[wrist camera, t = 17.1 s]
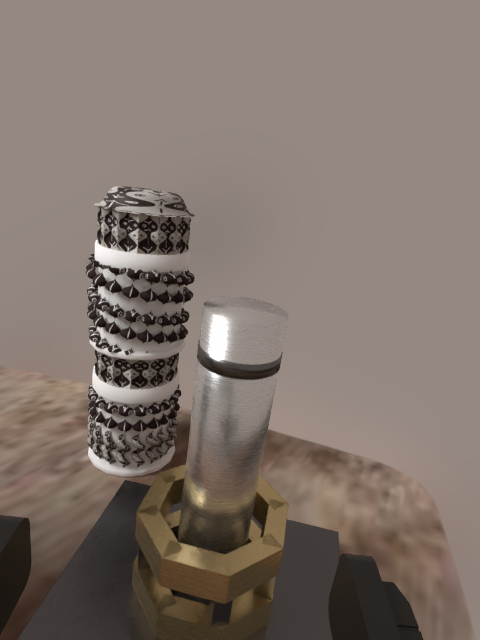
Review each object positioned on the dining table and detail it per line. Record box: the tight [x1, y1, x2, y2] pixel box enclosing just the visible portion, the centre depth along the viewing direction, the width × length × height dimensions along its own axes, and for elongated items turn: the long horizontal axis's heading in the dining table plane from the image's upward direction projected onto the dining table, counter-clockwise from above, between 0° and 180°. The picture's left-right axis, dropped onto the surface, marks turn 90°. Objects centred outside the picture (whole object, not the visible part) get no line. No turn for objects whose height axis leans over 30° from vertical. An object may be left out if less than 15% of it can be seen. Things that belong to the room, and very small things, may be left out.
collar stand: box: [17, 464, 339, 640], centre depth 27 cm, size 18×14×8 cm
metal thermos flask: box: [175, 297, 288, 605], centre depth 25 cm, size 4×4×19 cm
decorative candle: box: [86, 187, 195, 477], centre depth 38 cm, size 9×9×25 cm
